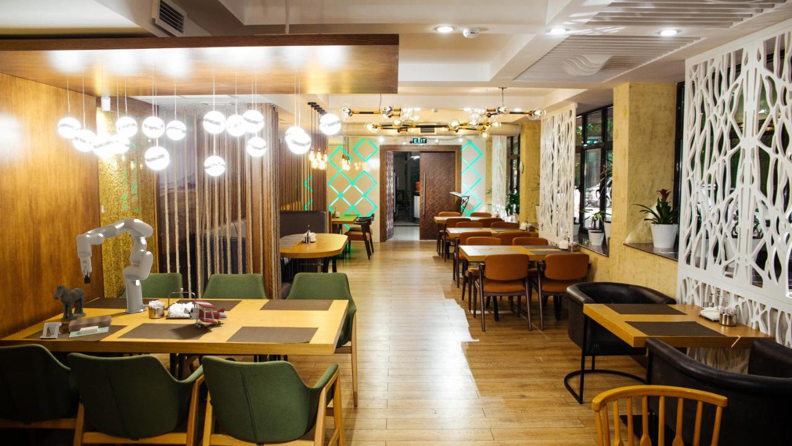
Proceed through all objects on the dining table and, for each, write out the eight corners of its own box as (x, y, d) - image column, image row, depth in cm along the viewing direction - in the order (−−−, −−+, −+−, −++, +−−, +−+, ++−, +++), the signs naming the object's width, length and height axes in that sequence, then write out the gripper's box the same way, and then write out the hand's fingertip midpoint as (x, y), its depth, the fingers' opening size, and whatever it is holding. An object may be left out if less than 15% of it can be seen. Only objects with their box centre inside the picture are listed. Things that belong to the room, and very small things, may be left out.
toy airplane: (231, 334, 315) (236, 309, 316) (192, 331, 302) (197, 305, 303) (217, 325, 337) (221, 302, 338) (180, 322, 323) (185, 298, 325)
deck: (111, 321, 338) (110, 315, 337) (110, 326, 325) (110, 320, 325) (71, 326, 328) (70, 320, 327) (69, 332, 315) (68, 326, 315)
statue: (60, 325, 331) (56, 287, 329) (46, 325, 333) (42, 286, 331) (90, 315, 356) (87, 278, 353) (77, 314, 358) (73, 278, 355)
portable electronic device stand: (40, 339, 303) (39, 325, 303) (48, 335, 311) (47, 321, 310) (55, 339, 304) (54, 325, 303) (63, 334, 311) (62, 321, 311)
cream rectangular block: (97, 328, 314) (97, 331, 314) (98, 325, 319) (98, 329, 319) (79, 330, 310) (80, 334, 310) (80, 328, 315) (81, 331, 316)
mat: (108, 327, 324) (108, 326, 324) (107, 332, 314) (107, 331, 314) (71, 332, 315) (70, 331, 315) (68, 337, 305) (68, 337, 305)
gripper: (90, 255, 320) (93, 284, 322) (92, 252, 333) (95, 280, 335) (76, 256, 316) (79, 286, 318) (78, 253, 330) (81, 282, 332)
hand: (87, 283), depth 327 cm, fingers closed
